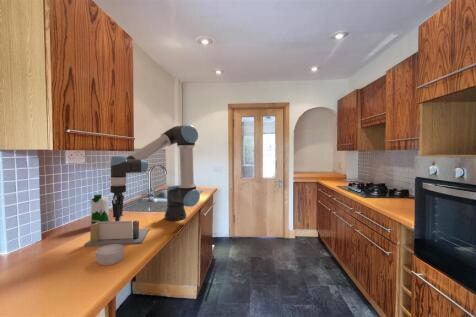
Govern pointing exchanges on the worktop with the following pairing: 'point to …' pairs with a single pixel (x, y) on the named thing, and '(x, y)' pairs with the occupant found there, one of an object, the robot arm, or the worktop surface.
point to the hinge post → (135, 229)
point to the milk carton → (99, 209)
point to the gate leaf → (115, 229)
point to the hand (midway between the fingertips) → (117, 228)
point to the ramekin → (109, 254)
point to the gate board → (121, 240)
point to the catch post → (94, 233)
